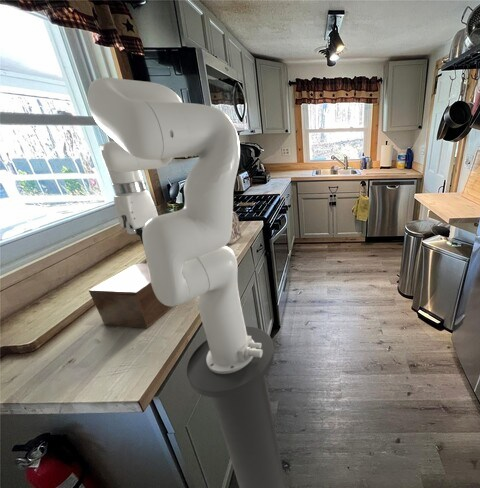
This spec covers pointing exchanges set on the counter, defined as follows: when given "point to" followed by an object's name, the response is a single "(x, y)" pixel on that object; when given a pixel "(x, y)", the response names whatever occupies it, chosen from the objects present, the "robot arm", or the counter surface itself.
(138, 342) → the counter surface
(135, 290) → the lid
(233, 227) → the decorative jar
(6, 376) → the counter surface
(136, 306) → the chest
